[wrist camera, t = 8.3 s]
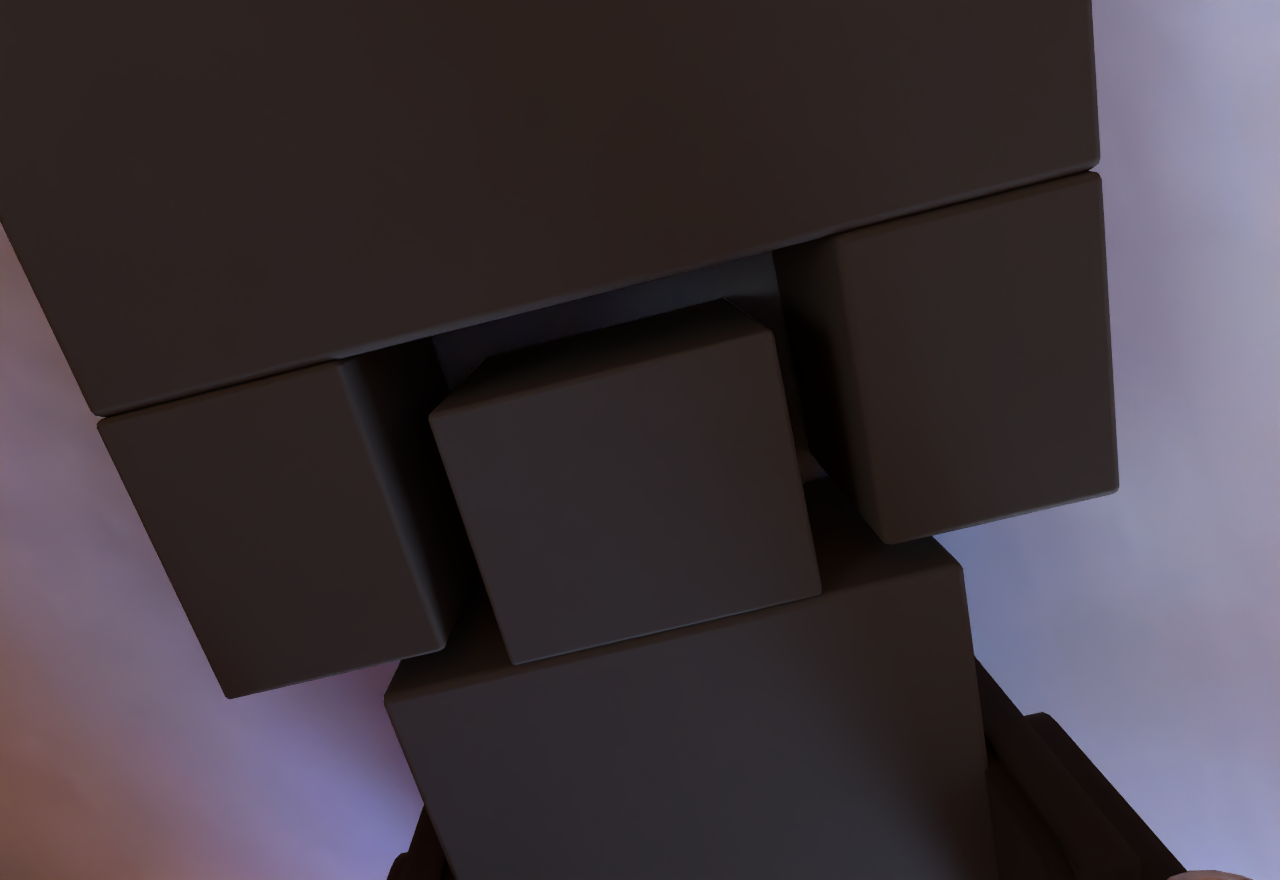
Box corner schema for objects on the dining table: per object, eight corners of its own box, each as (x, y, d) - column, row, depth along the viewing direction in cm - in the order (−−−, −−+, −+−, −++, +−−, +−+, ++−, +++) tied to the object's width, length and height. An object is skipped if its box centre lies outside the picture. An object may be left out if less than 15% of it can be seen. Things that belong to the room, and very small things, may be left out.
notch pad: (879, -437, 7) (1048, -868, 4) (976, 415, 10) (1123, 495, 7) (31, -189, 8) (-324, -438, 5) (336, 567, 10) (225, 703, 7)
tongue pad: (833, 269, 9) (931, 289, 6) (937, 905, 12) (1036, 1113, 9) (380, 382, 10) (276, 452, 7) (590, 978, 13) (583, 1203, 10)
